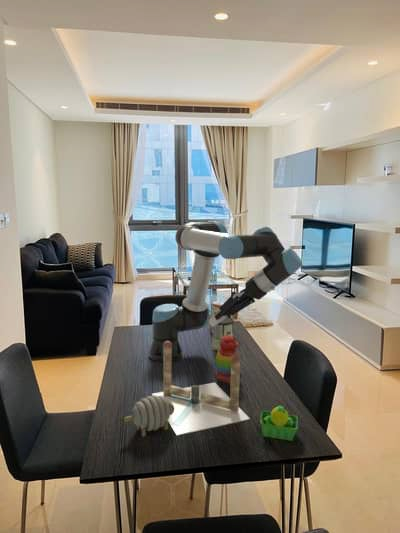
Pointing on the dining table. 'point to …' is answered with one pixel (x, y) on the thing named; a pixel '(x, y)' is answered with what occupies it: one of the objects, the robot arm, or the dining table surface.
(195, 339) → the dining table surface
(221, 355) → the stacking bear
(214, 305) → the candy bar box
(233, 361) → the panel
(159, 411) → the toy sheep
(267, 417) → the fruit basket
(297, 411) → the dining table surface
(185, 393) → the wooden post with ball
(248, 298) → the robot arm
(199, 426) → the card
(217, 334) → the coffee can
